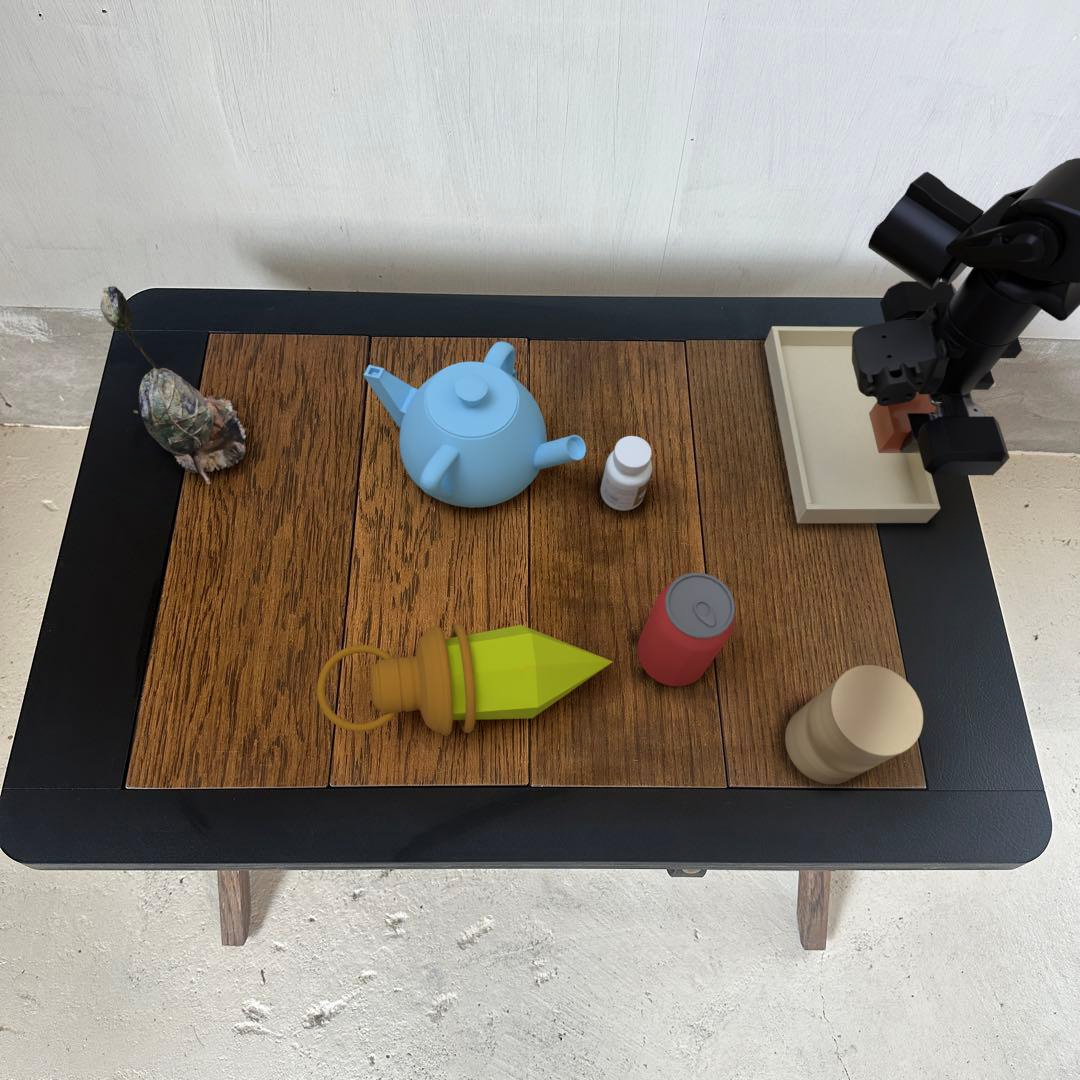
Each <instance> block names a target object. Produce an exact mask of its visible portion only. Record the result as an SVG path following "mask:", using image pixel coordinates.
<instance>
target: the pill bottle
mask: <svg viewBox="0 0 1080 1080" xmlns="http://www.w3.org/2000/svg"><path fill="white" fill-rule="evenodd" d="M651 458H652V448H651V446H650V444H649V443H648V441H646V440H645V439H643V438H642V437H639V436H636V435H628V436H627V435H626V436H623V437H622V438H620V439H619V440H617V442H616V444H615V446H614V449H613V450H612V452H610V453H609V455H608V457H607V459H606V462H605V466H604V471H603V476H602V479H601V484H600V496H601V497H602V501H604V503H605V504H606V505H607V506H609V507H610V508H612V509H613V510H616V511H621V512H623V511H624V512H625V511H631V510H633V509H636V508H637V507H638V506H640V504H641V503H642V502H643V501H644V498H645V495H646V492H647V489H648V486H649V482H650V479H651V476H652V472H653V463H652V460H651Z"/></svg>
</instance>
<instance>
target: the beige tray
mask: <svg viewBox="0 0 1080 1080" xmlns="http://www.w3.org/2000/svg"><path fill="white" fill-rule="evenodd" d="M862 327H863V326H799V325H798V326H796V325H795V326H794V325H793V326H790V325H787V326H783V325H781V326H779V325H773V326H771V328H770V330H769V332H768V334H767V337H766V339H765V342H764V344H763V345H764V351H765V355H766V361H767V366H768V372H769V373H768V374H769V378H770V383H771V388H772V389H771V390H772V393H773V400H774V404H775V405H774V406H775V410H776V415H777V416H776V417H777V421H778V422H777V423H778V427H779V432H780V437H781V443H782V450H783V453H784V461H785V465H786V470H787V476H788V481H789V486H790V487H789V488H790V493H791V497H792V504H793V509H794V513H795V514H794V515H795V519H796V524H927V523H928V522H929V521H930V520H931V519H932V518H934V516H935V515H936V514H937V513H938V512H939V511H940V510H941V505H940V502H939V499H938V494H937V491H936V487H935V483H934V479H933V475H931V474H930V473H928V472H927V471H926V470H924V467H923V463H922V459H921V455H920V453H878V449H877V445H876V440H875V436H874V432H873V428H872V424H871V420H870V416H869V413H870V411H871V410H872V408H873V407H874V405H875V404H876V402H877V399H876V398H875V397H873V396H872V397H867V396H865V395H864V394H862V393H861V392H860V391H859V389H858V385H857V380H856V375H855V371H854V367H853V364H852V336H853V333H854V332H855V331H856V330H858V329H859V328H862Z"/></svg>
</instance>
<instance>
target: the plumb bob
mask: <svg viewBox="0 0 1080 1080" xmlns="http://www.w3.org/2000/svg"><path fill="white" fill-rule="evenodd" d="M416 645H417V646H416V649H415V655H414V656H412V657H411V656H403V657H400V658H397V657H393V656H392V655H391V654H389V653H388V652H387V651H385V650H383V649H382V648H379V647H376V646H373V645H370V644H369V645H368V644H356V645H351V646H348V647H345V648H343V649H341V650H339V651H337V652H336V653H335V654H334V655H332V656H331V657H330V658H329V659H328V660H327V661H326V663H325V664H324V666H323V667H322V669H321V671H320V673H319V676H318V680H317V683H316V684H317V685H316V694H317V700H318V704H319V707H320V709H321V711H322V712H323V714H324V715H325V717H326V718H327V719H328V720H329V721H330V722H331V723H332V724H334V725H335V726H337V727H339V728H341V729H342V730H346V731H349V732H356V733H362V732H363V733H364V732H369V731H373V730H376V729H378V728H381V727H383V726H384V725H385V724H386V723H388V722H389V721H391V720H392V718H394V716H395V715H396V714H397V713H398V714H399V713H402V712H413V711H416V710H418V711H420V714H421V717H422V719H423V722H424V723H425V725H426V727H428V728H429V729H430V730H432V731H433V732H435V733H437V734H441V735H442V736H445V737H447V736H449V735H450V734H451V733H452V731H453V723H454V721H458V722H459V725H460V728H461V730H462V731H463V732H464V733H466V734H470V733H472V732H473V730H474V728H475V724H476V720H480V721H481V720H513V719H514V720H515V719H518V720H519V719H534V718H535V717H537V716H538V715H539V714H541V713H542V712H544V711H545V710H546V709H548V708H549V707H551V706H552V705H553V704H555V703H556V702H558V701H559V700H560V699H563V698H564V697H565V696H567V695H568V694H569V693H571V692H572V691H574V690H575V689H577V688H578V687H579V686H581V685H583V684H584V683H585V682H586V681H588V680H589V679H591V678H593V677H594V676H595V675H596V674H598V673H600V672H601V671H602V670H604V669H606V668H607V667H608V666H610V665H611V664H613V663H614V661H612V660H610V659H608V658H605V657H603V656H600V655H598V654H595V653H593V652H590V651H588V650H586V649H583V648H581V647H578V646H575V645H573V644H570V643H568V642H565V641H563V640H560V639H558V638H555V637H552V636H550V635H548V634H545V633H543V632H541V631H537V630H535V629H533V628H530V627H527V626H525V625H523V624H518V625H513V626H508V627H503V628H497V629H492V630H487V631H481V632H476V633H471V634H470V633H469V634H467V630H466V628H465V626H464V625H462V624H461V623H456V624H454V625H453V627H452V629H451V635H450V637H449V638H446V637H445V633H444V631H443V628H442V627H440V625H434V626H433V627H432V628H430V629H428V630H426V631H425V632H424V633H423V634H422V636H421V637H420V638H419V639H418V641H417V644H416ZM360 653H361V654H363V653H364V654H370V655H374V656H376V657H379V658H380V659H377V661H376V663H375V664H374V665H373V666H372V668H371V670H370V677H369V678H370V693H371V701H372V703H373V706H374V708H375V709H376V710H377V711H379V712H380V713H381V715H382V716H380V717H379V718H377V719H375V720H373V721H370V722H366V723H355V722H350V721H347V720H345V719H343V718H341V717H340V716H339V715H337V714H336V713H335V711H333V710H332V708H331V707H330V705H329V703H328V699H327V695H326V684H327V679H328V677H329V674H330V672H331V671H332V669H333V668H334V667H335V665H336V664H338V662H339V661H341V660H343V659H344V658H346V657H348V656H350V655H354V654H360Z"/></svg>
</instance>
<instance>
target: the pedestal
mask: <svg viewBox="0 0 1080 1080" xmlns="http://www.w3.org/2000/svg"><path fill="white" fill-rule="evenodd" d="M923 711H924V710H923V707H922V704H921V701H920V698H919V697H918V695H917V692H916V691H915V690H914V688H913V687H912V686H911V684H910V683H909V682H908V681H907V680H906V679H905V678H904V677H902V676H901V675H900V674H898V673H897V672H895V671H894V670H892V669H889V668H887V667H883V666H880V665H876V664H862V665H857V666H854V667H851V668H849V669H847V670H846V671H845V672H843V673H842V674H840V675H839V676H838V677H837V678H836V679H835V680H833V681H832V682H831V683H829V685H827V686H826V687H825V688H824V689H823V690H822V691H820V692H819V693H818V694H817V695H815V696H814V697H813V698H812V699H811V700H809V701H807V703H806V704H804V705H803V706H802V707H801V708H800V709H798V710H797V711H796V712H795V713H794V714H793V715H792V716H791V718H790V719H789V721H788V723H787V726H786V728H785V735H784V738H785V739H784V740H785V741H784V743H785V748H786V751H787V754H788V757H789V759H790V760H791V762H792V764H793V765H794V766H795V767H796V769H797V770H798V771H799V772H800V773H801V774H802V775H804V776H805V777H807V778H808V779H810V780H812V781H814V782H816V783H819V784H823V785H839V784H843V783H846V782H847V781H850V780H852V779H854V778H855V777H858V776H860V775H861V774H864V773H865V772H867V771H870V770H871V769H873V768H875V767H877V766H879V765H881V764H883V763H885V762H887V761H889V760H891V759H893V758H894V757H897V756H899V755H900V754H902V753H905V752H906V751H908V750H909V749H911V748H912V747H913V746H914V745H915V744H916V742H918V739H919V738H920V736H921V734H922V730H923V726H924V712H923Z"/></svg>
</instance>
